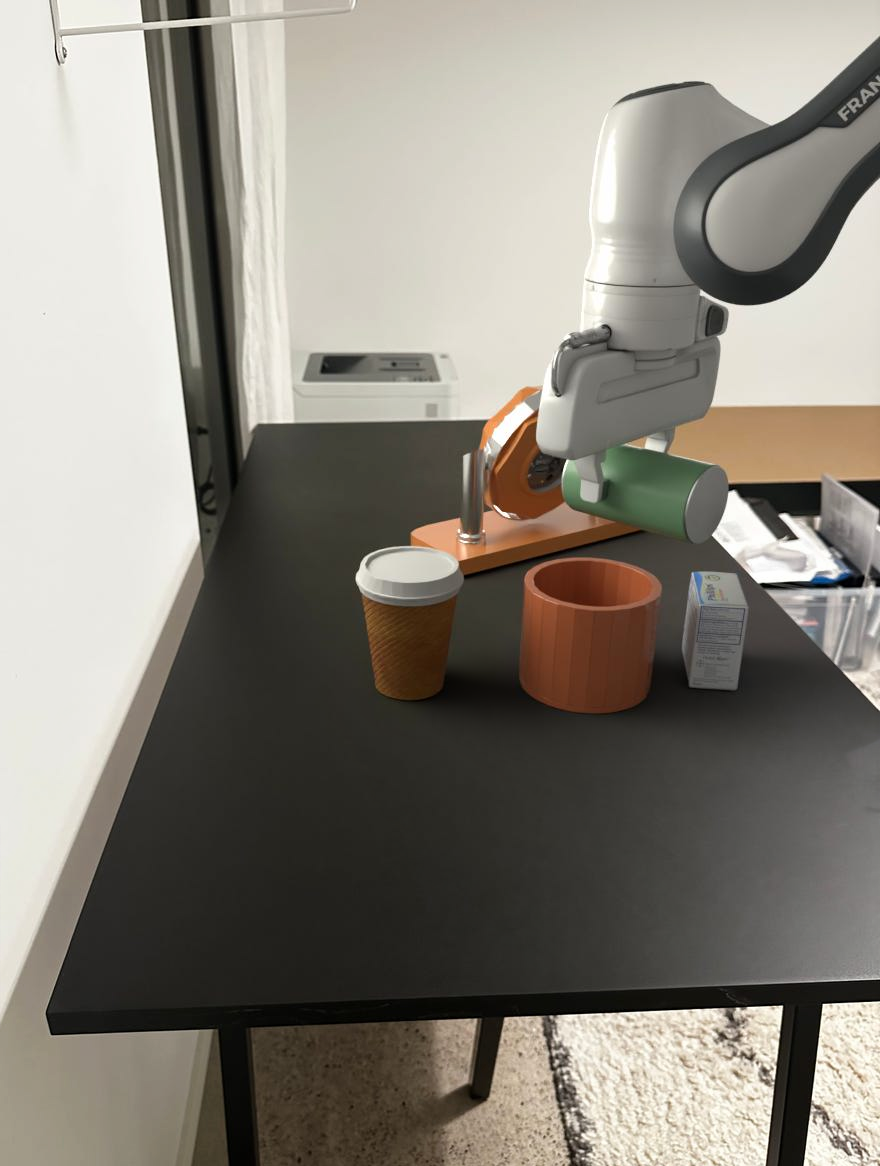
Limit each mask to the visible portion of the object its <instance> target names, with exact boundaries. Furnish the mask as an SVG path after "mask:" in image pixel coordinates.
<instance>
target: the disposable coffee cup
mask: <svg viewBox="0 0 880 1166" xmlns="http://www.w3.org/2000/svg"><path fill="white" fill-rule="evenodd" d="M464 576H465V575H463V574H462V572H461V571H460V568H459V564H458V561H457V559H456V558H455V557H453V556H452V555H450V554H449V553H446V552H444V551H441V550H437V549H433V548H428V547H419V546H411V545H402V546H391V547H386V548H383V549H382V548H381V549H377V550H375V551H372V552H370V553H368V554H367V555H366V556H364V557H363V559H362V560H361V562H360V566H359V570H358V571H357V572H356V573H355V583H356V585H357V586H358V589H359V591H360V593H361V597H362V606H363V611H364V618H365V624H366V631H367V637H368V639H367V640H368V644H369V652H370V658H371V664H372V673H373V679H374V686H375V689H377V691H378V692H379V693H381V695H384V696H386V697H389V698H391V699H394V700H395V699H396V700H401V701H417V700H423V699H427V698H430V697H433V696H434V695H436V694H438V693H439V692H440V691H442V689H443V686H444V681H445V674H446V668H447V661H448V656H449V650H450V644H451V637H452V631H453V626H454V625H453V624H454V619H455V613H456V607H457V599H458V594H459V592H460V591H461V587H462V585H463V584H464V581H465V577H464Z"/></svg>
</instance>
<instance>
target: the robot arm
mask: <svg viewBox="0 0 880 1166" xmlns="http://www.w3.org/2000/svg"><path fill="white" fill-rule="evenodd" d="M593 166H594V167H593V174H592V182H591V183H592V184H591V191H590V202H589V212H588V213H589V214H588V219H589V225H590V230H591V241H592V242H591V251H590V257H589V260H588V262H587V266H586V268H585V271H584V278H583V292H582V304H581V305H582V306H581V318H580V319H581V320H580V330H577V331H572V332H568V333H567V334H566V335H565V336H564V338H563V341H562V342H561V343H560V344H559V346H558V347H557V349H556V350H554V351H553V354H552V357H551V361H550V363H549V364H548V366H547V369H546V372H545V375H544V378H543V384H542V385H543V388H542V394H541V400H540V407H539V414H538V421H537V430H536V441H537V444H538V446H539V448H540V450H541V451H542V452H543V453H544V454H547V455H550V456H554V457H558V458H562V459H567V460H573V461H574V463H575V466H576V468H577V471H578V473H579V476H580V478H581V491H580V496H581V498H582V499H583V500H584V501H588V502H591V503H597V502H599V501H602V500H604V499H606V498H607V497H608V489H609V484H610V479H606V478H604V477H603V473H602V468H601V463H603V462H605V457H606V450H608V449H611V448H614V447H617V446H620V445H623V444H629V443H632V442H634V441H635V442H636V441H638V440H641V439H644V438H646V441H645V444H644V447H643V448H645V449H650V450H654V451H658V452H663V453H667V454H668V452H669V450H670V448H671V446H672V444H673V443H674V442H673V441H674V440H675V435H676V428H677V427H680V426H683V425H686V424H689V423H693V422H695V421H699V420H701V419H703V418H705V416H706V415H707V414H708V411H709V410H710V407H711V405H712V404H713V400H714V396H715V391H716V386H717V381H718V375H719V367H720V360H721V351H722V350H721V347H722V346H721V341H720V338H719V336H722V335H724V334H725V333H726V331H727V328H728V324H729V316H730V312H729V309H728V308H727V307H726V306H724V305H722V304H720V303H718V302H715V301H713V300H711V299H710V298H708V297H707V296H705V295H702V294H701V291H702V292H703V293H705V294H706V295H708V296H710V297H711V298H713V299H716V300H718V301H719V302H723V303H726V304H730V305H736V306H747V307H748V306H760V305H765V304H770V303H773V302H776V301H779V300H781V299H783V298H785V297H788V296H790V295H791V294H793V293H795V292H796V291H798V290H799V289H801V287H803V286H804V285H805V284H806V283H807V282H809V281H810V280H811V279H812V278H813V276H815V274H817V272H818V271H819V269H820V268H821V267H822V266H823V264H825V261H826V260H827V258H828V256H829V255H830V253H831V251H832V250H833V248H834V246H835V244H836V242H837V241H838V238H839V236H840V234H841V232H842V230H843V228H844V226H845V224H846V222H847V221H848V218H849V216H850V214H851V212H852V211H853V210H854V208H855V207H856V206H857V204H858V203H859V201H860V200H861V199H862V198H863V197H864V196H865V194H866V193H867V192H868V191H869V190H870V189H871V188H872V186H874V184H876V182H878V181H879V180H880V35H879V36H878V37H877V38H876V39H875V40H874V41H873V42H872V43H870V44H869V45H868V46H867V47H866V48H865V49H864V50H863V51H862V52H861V53H860V54H858V56H856V57H855V59H853V60H852V61H851V62H850V63H849V64H848V65H847V66H845V68H844V69H843V70H842V71H840V72H839V74H837V75H836V76H835V77H834V78H833V79H832V80H831V81H830V82H829V83H828V84H827V85H826V86H824V88H823V89H822V90H820V92H818V93H817V94H816V95H815V96H814V97H812V99H810V100H809V101H807V102H806V103H805V104H804V105H803V106H802V107H801V108H799V109H798V110H797V111H795V112H793V113H792V114H791V115H790V116H788V117H786V118H785V119H783V120H781V121H779V122H777V123H774V124H768V123H767V122H765V121H763V120H760V119H759V118H757V117H755V116H753V115H751V114H750V113H748V112H746V111H745V110H743V109H742V108H740V107H738V106H736V105H735V104H734V103H732V102H731V101H729V100H728V99H727V98H725V97H724V96H723V95H722V94H721V93H720V92H719V91H718V90H717V89H716V88H715V86H714V85H713V84H711V83H709V82H705V81H699V80H690V81H687V80H686V81H683V82H679V83H675V82H673V83H667V84H662V85H657V86H652V87H648V88H643V89H640V90H637V91H635V92H632V93H629V94H627V95H625V96H623V97H621V98H620V99H619V100H618V101H616V102H615V104H614V105H612V107H611V108H610V109H609V110H608V112H607V113H606V116H605V117H604V119H603V123H602V127H601V130H600V133H599V137H598V143H597V148H596V153H595V160H594V165H593Z"/></svg>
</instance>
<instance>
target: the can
mask: <svg viewBox="0 0 880 1166" xmlns="http://www.w3.org/2000/svg"><path fill="white" fill-rule="evenodd" d="M601 468H602V473H603V477H604V478H606V479H610V484H609V489H608V497H607V498H606V499H604V500H602V501H599V502H597V503H591V502H588V501H584V500H583V499H582V498H581V496H580V491H581V478H580V476H579V473H578V471H577V468H576V466H575V463H574V461H573V460H567V461H566V463H565V466H564V470H563V474H562V482H561V488H562V495H563V498H564V501H565V502H566V504H567V505H568V506H569V507H570V508H571V509H573V510H575V511H579V512H582V513H586V514H589V515H593V516H596V517H600V518H603V519H607V520H610V521H614V522H617V523H621V524H624V525H628V526H631V527H635V528H638V529H642V531H646V532H649V533H653V534H656V535H659V536H663V537H666V538H670V539H673V540H677V541H680V542H684V543H688V544H691V545H699V544H702V543H705V542H706V541H707V540H709V539H710V538H711V537H712V535H713V534H714V533H715V531H717V529H718V527H719V525H720V524H721V521H722V519H723V517H724V513H725V511H726V508H727V504H728V498H729V490H730V489H729V477H728V474H727V472H726V470H725V469H724V468H723V467H722V466H720V465H718V464H715V463H711V462H707V461H702V460H697V459H693V458H689V457H684V456H680V455H676V454H672V453H668V452H667V453H663V452H658V451H654V450H650V449H645V448H644V447H642V446H641V447H640V446H636V445H633V444H629V443H626V444H623V445H620V446H617V447H614V448H611V449H608V450H606V457H605V462H603V463H601Z"/></svg>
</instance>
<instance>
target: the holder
mask: <svg viewBox="0 0 880 1166" xmlns="http://www.w3.org/2000/svg"><path fill="white" fill-rule="evenodd" d="M662 591H663V585H662V583H661V582H660V580H659V579H658V578H657V577H656V576H655V575H654V574H653V573H651V572H649V571H647V570H645V569H643V568H641V567H639V566H636V565H633V564H630V563H627V562H624V561H618V560H614V559H607V558H599V557H566V558H557V559H553V560H548V561H544V562H542V563H540V564H537V565H535V566H533V567H532V568H531V569H529V570H528V571H527V572H526V574H525V576H524V579H523V593H522V613H521V615H522V616H521V631H520V632H521V633H520V646H519V663H518V664H519V665H518V672H519V673H518V680H519V684H520V686H521V687H522V689H523V690H524V691H525V693H527V695H529V696H530V697H532V698H533V699H535V700H536V701H537V702H540V703H542V704H544V705H547V706H548V707H549V706H550V707H552V708H555V709H558V710H561V711H566V712H571V713H572V712H573V713H579V714H610V713H617V712H620V711H625V710H628V709H631V708H633V707H635V706H637V705H639V704H640V703H642V702H643V701H645V699H646V698H647V697H648V695H649V693H650V690H651V682H652V676H653V675H652V674H653V665H654V658H655V650H656V641H657V634H658V624H659V616H660V608H661V599H662Z"/></svg>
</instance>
